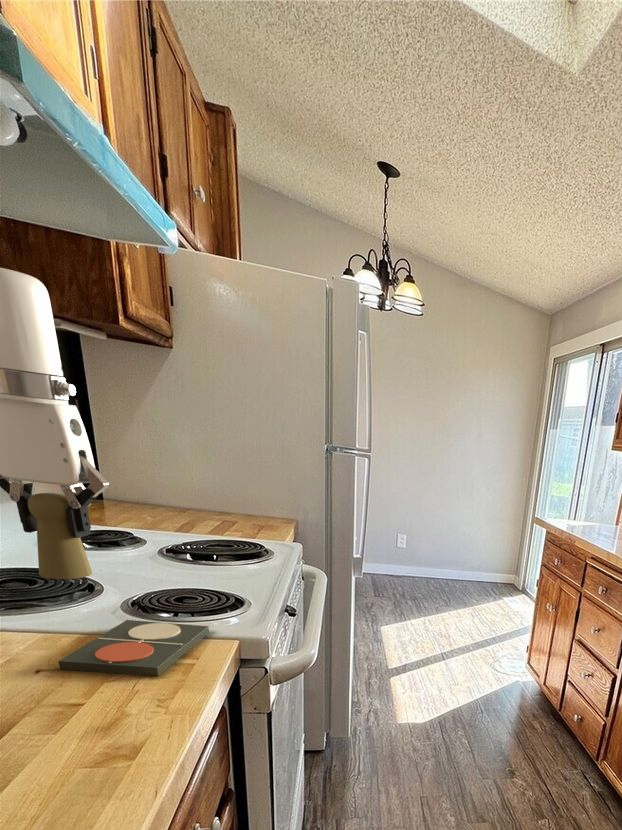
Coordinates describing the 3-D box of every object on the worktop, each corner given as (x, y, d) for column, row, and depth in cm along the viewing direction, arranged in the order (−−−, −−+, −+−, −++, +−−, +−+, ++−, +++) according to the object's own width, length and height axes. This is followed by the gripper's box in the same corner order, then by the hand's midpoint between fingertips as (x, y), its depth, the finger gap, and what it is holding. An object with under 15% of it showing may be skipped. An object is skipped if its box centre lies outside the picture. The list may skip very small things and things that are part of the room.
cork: (27, 573, 77) (8, 491, 73) (69, 565, 83) (53, 489, 78) (63, 581, 76) (46, 499, 72) (102, 573, 82) (89, 496, 77)
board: (60, 669, 72) (57, 659, 71) (128, 627, 86) (126, 618, 85) (158, 676, 73) (156, 666, 72) (209, 633, 87) (208, 624, 87)
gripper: (118, 399, 74) (138, 536, 82) (-23, 379, 72) (11, 521, 80) (83, 397, 67) (108, 546, 75) (-74, 374, 65) (-32, 530, 73)
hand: (57, 532), depth 77 cm, fingers closed on cork, 5 cm apart
